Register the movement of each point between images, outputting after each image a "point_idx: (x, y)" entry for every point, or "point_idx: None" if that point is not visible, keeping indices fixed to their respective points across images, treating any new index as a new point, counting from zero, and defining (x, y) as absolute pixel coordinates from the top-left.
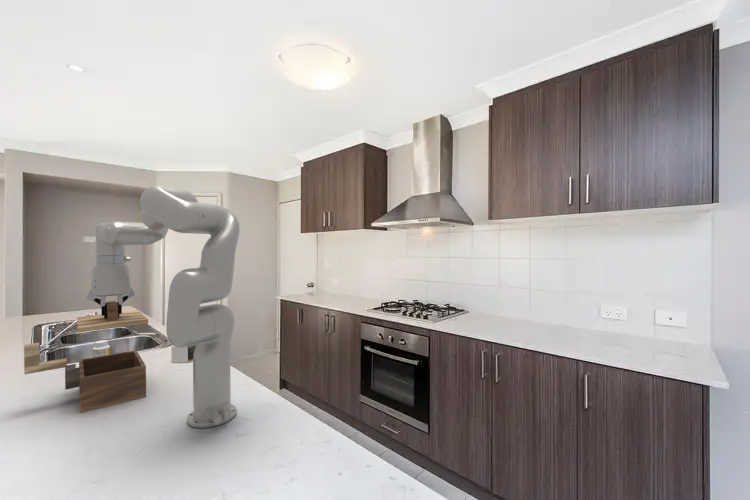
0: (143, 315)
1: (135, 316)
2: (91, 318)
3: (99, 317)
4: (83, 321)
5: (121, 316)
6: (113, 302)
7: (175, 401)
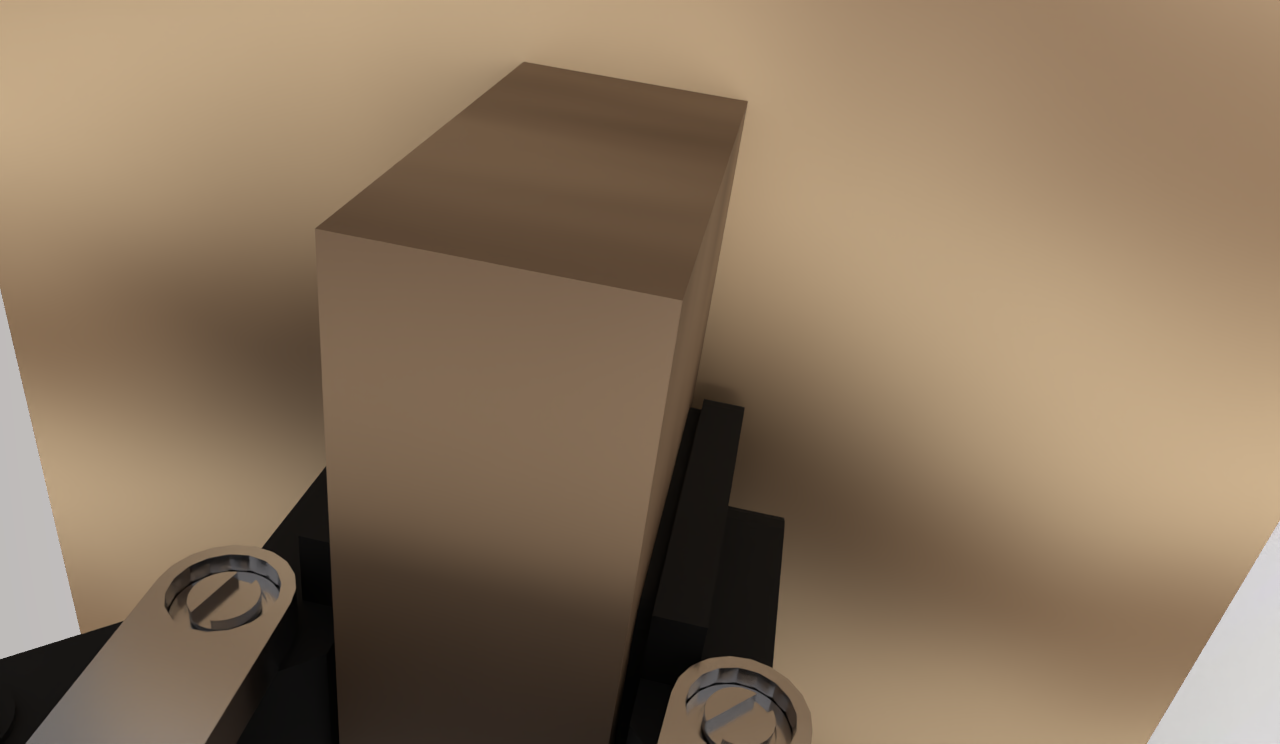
0: (1158, 708)
1: (991, 679)
2: (208, 66)
3: (375, 80)
4: (103, 356)
5: (802, 421)
6: (530, 725)
7: None
